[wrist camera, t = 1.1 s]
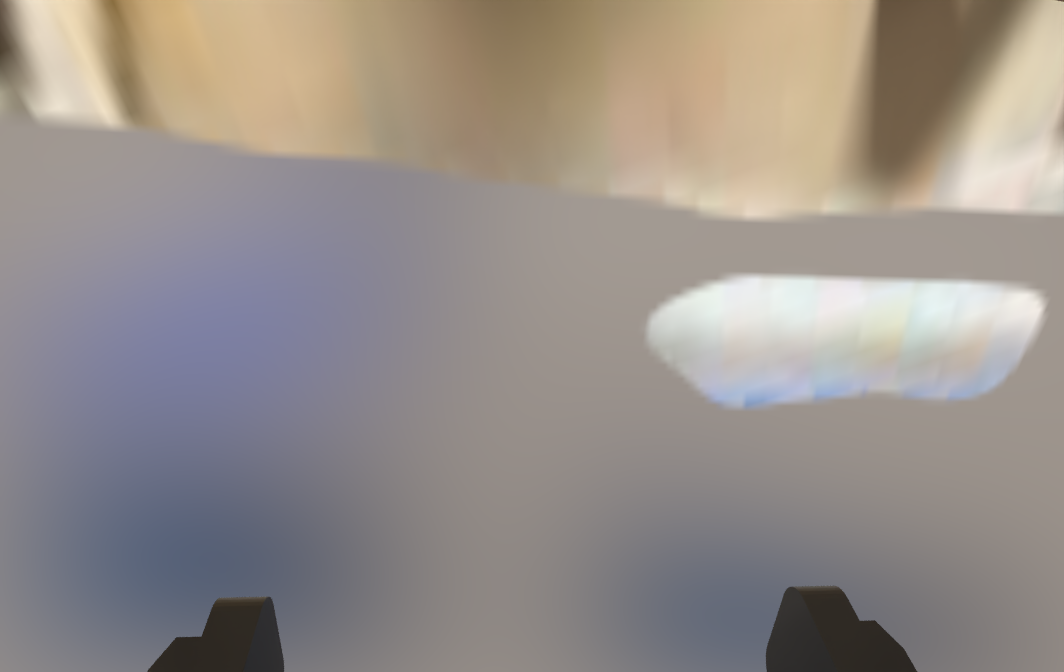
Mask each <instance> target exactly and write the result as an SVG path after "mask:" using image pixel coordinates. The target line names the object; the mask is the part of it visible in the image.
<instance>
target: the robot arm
mask: <svg viewBox="0 0 1064 672" xmlns="http://www.w3.org/2000/svg"><path fill="white" fill-rule="evenodd" d="M766 668H767V672H917V671H916V669H915V667H914V665H913V664H912V662H911V660H910V659H909V657H908V655H907V653H906V652H905V650H904V649H903V647H901V646H900V645H899V644H898V643H897V642H896V641H895V640H894V639H893V638H892V637H891V636H890V635H889V634H888V633H887V632H886V631H885V630H884V629H883V628H882V627H881V626H880V625H879V624H878V623H877V622H876V621H859V619H858V617H857V615H856V613H855V611H854V610H853V608H852V606H851V604H850V602H849V600H848V598H847V597H846V595H845V593H844V592H843V591H842V590H841V589H840V588H839V587H837V586H805V587H803V586H802V587H789V588H788V589H787V590H786V591H785V593H784V596H783V599H782V602H781V605H780V608H779V611H778V615H777V618H776V621H775V624H774V627H773V630H772V633H771V636H770V639H769V642H768V646H767V651H766ZM148 672H284V660H283V654H282V649H281V643H280V638H279V632H278V627H277V621H276V616H275V610H274V605H273V601H272V599H271V597H239V598H238V597H236V598H219V599H217V600H216V602H215V603H214V605H213V607H212V610H211V612H210V615H209V618H208V621H207V623H206V626H205V629H204V631H203V634H202V637H177V638H175V640H174V641H173V642H172V643H171V644H170V646H169V647H168V648H167V649H166V650H165V651H164V652H163V653H162V655H161V656H160V657H159V658H158V659H157V660H156V662H155V663H154V664H153V665H152V666H151V668H150V669H149V670H148Z"/></svg>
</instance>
